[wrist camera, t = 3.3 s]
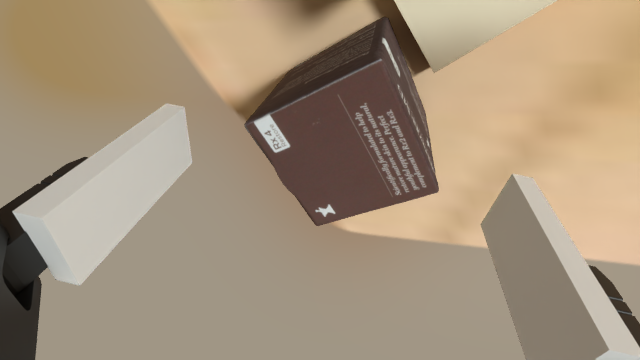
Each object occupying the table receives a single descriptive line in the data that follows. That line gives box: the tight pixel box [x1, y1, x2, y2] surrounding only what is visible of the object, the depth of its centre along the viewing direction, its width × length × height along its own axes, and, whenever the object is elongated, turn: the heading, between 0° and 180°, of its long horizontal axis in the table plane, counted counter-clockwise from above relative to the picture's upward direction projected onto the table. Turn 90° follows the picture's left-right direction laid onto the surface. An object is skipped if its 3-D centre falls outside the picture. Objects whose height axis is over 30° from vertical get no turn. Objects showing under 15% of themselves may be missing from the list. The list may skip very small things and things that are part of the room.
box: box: [244, 17, 439, 226], centre depth 15 cm, size 6×6×7 cm
